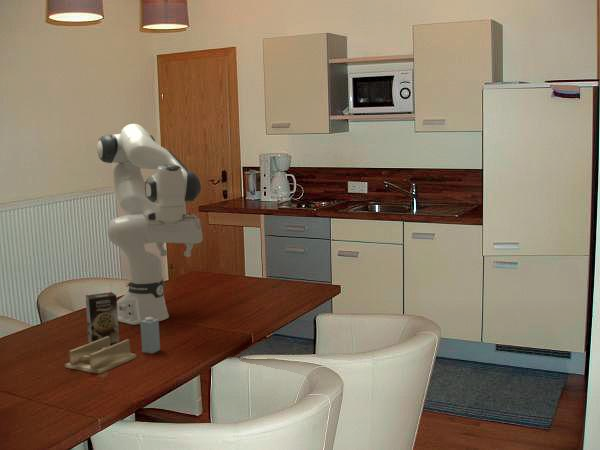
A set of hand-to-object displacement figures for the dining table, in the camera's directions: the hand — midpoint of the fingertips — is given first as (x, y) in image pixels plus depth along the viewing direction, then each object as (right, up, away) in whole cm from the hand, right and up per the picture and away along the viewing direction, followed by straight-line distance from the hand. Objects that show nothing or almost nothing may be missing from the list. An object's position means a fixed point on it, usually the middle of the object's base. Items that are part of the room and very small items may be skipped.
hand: (175, 256), depth 247 cm
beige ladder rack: (-20, -32, -17) cm, 41 cm away
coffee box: (-24, -29, +3) cm, 38 cm away
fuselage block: (-6, -30, -8) cm, 31 cm away
